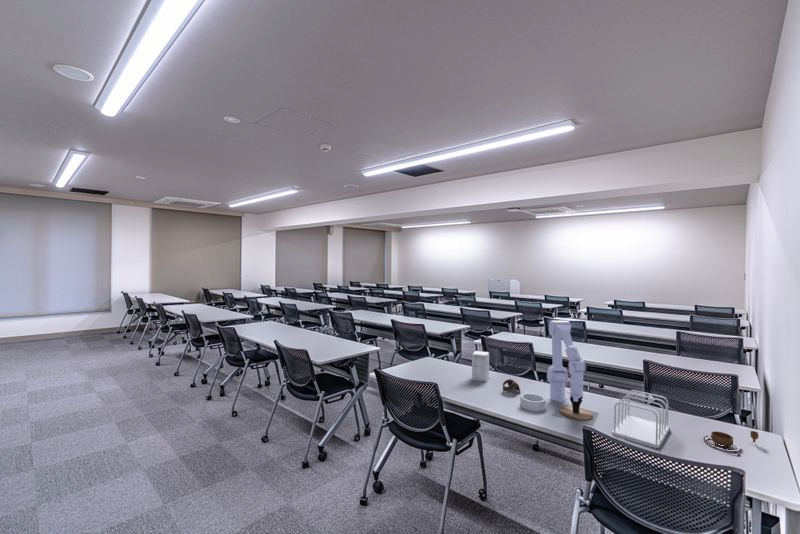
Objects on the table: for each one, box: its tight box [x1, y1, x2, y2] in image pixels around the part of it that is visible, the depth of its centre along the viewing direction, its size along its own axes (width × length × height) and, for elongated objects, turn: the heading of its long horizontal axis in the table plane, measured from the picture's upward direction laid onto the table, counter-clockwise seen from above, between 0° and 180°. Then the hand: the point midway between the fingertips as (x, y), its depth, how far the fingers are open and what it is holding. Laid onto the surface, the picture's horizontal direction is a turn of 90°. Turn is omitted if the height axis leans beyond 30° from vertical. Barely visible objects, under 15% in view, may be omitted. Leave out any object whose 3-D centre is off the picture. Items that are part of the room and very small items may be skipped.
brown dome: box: [502, 378, 521, 394], centre depth 216 cm, size 12×10×8 cm
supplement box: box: [471, 350, 490, 382], centre depth 238 cm, size 10×9×17 cm
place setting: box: [703, 430, 759, 447], centre depth 155 cm, size 18×20×6 cm
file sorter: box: [611, 389, 671, 449], centre depth 167 cm, size 25×17×16 cm
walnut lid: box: [560, 405, 593, 420], centre depth 185 cm, size 15×15×4 cm
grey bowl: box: [520, 392, 547, 412], centre depth 194 cm, size 12×12×5 cm
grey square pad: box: [552, 403, 600, 426], centre depth 185 cm, size 18×18×1 cm
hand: (575, 410), depth 185 cm, fingers closed on walnut lid, 3 cm apart
